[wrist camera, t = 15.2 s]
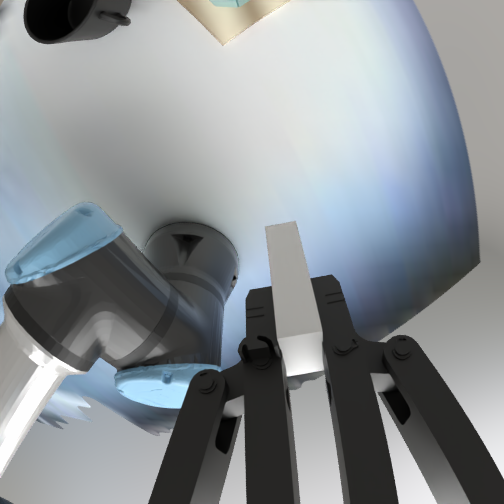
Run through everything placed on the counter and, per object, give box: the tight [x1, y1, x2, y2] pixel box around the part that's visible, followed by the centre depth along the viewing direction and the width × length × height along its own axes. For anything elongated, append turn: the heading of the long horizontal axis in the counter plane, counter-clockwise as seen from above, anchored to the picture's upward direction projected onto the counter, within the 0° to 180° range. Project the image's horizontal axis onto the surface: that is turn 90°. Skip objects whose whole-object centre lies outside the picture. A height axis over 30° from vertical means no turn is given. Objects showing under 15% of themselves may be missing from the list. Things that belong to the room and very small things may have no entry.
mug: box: [24, 0, 131, 44], centre depth 20 cm, size 9×12×9 cm
